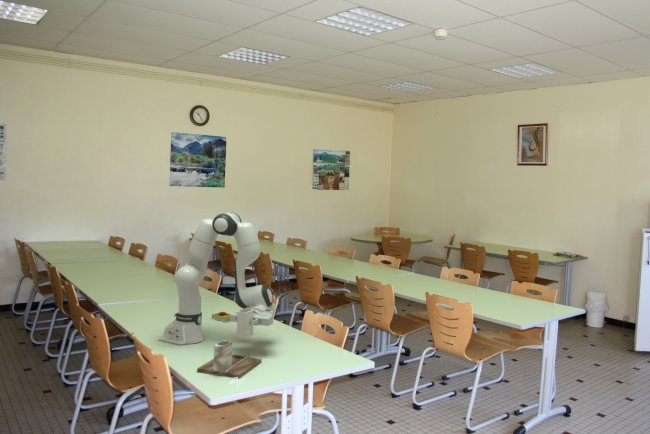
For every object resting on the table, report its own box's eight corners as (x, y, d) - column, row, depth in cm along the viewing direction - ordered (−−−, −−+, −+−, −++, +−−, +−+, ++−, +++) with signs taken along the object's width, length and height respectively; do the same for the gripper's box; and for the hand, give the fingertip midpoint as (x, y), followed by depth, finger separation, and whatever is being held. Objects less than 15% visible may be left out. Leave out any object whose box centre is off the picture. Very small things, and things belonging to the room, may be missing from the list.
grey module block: (236, 337, 247) (237, 310, 246) (243, 333, 254) (243, 307, 253) (246, 338, 245) (247, 312, 245) (253, 334, 252) (253, 308, 251)
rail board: (197, 371, 230) (197, 342, 229) (222, 356, 251) (222, 329, 250) (239, 378, 224) (240, 348, 223) (261, 362, 244) (262, 334, 244)
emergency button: (221, 309, 327) (238, 313, 317) (221, 316, 327) (238, 321, 318) (209, 311, 320) (225, 316, 310) (209, 319, 320) (225, 323, 310)
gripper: (237, 307, 264) (224, 313, 251) (276, 311, 258) (264, 318, 245) (237, 319, 265) (224, 326, 251) (275, 324, 259) (264, 331, 245)
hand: (244, 322), depth 248 cm, fingers closed on grey module block, 5 cm apart
